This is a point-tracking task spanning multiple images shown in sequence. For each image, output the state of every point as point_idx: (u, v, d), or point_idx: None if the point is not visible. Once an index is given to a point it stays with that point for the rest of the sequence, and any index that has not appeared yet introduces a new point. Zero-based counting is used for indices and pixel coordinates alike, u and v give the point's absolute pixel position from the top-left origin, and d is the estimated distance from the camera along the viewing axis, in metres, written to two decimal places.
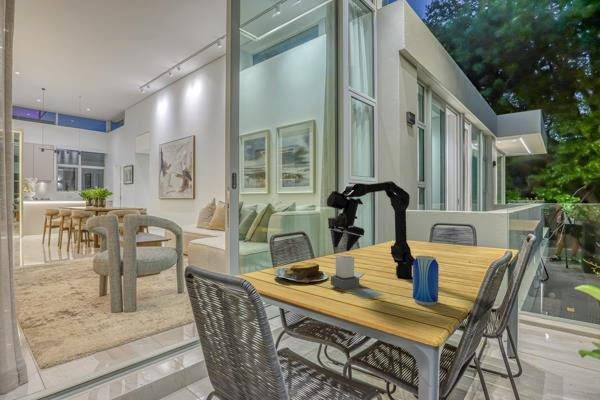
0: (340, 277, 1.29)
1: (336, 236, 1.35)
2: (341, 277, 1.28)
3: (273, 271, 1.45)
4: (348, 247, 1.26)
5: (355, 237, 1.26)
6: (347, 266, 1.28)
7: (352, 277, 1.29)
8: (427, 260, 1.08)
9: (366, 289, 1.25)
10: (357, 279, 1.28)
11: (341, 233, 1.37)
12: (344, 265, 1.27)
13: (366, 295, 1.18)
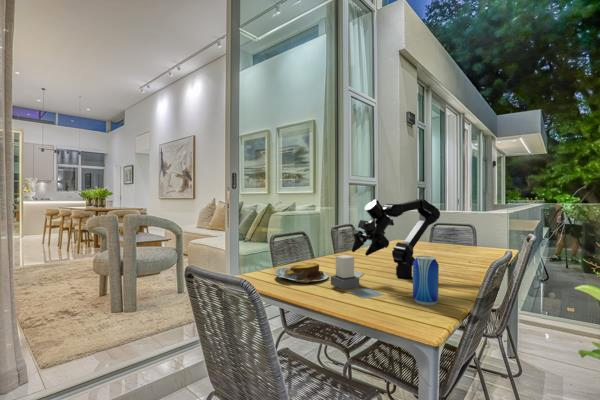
0: (340, 277, 1.29)
1: (357, 242, 1.39)
2: (341, 277, 1.28)
3: (274, 271, 1.45)
4: (368, 252, 1.29)
5: (378, 246, 1.30)
6: (347, 266, 1.28)
7: (352, 277, 1.29)
8: (427, 260, 1.08)
9: (366, 289, 1.25)
10: (357, 279, 1.28)
11: (362, 243, 1.41)
12: (344, 265, 1.27)
13: (366, 295, 1.18)
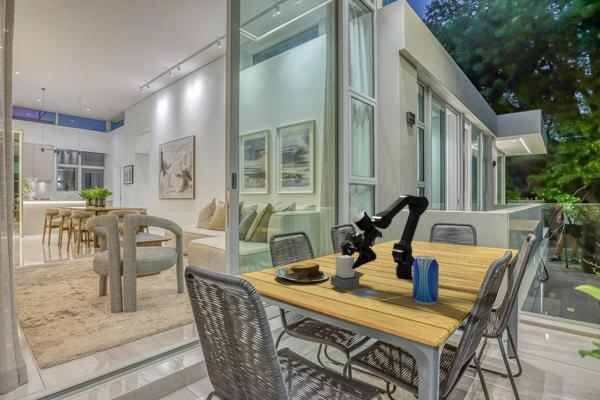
0: (340, 277, 1.29)
1: None
2: (341, 277, 1.28)
3: (274, 271, 1.45)
4: (355, 265, 1.26)
5: (365, 260, 1.27)
6: (347, 266, 1.28)
7: (352, 277, 1.29)
8: (427, 260, 1.08)
9: (366, 289, 1.25)
10: (357, 279, 1.28)
11: (350, 255, 1.38)
12: (344, 265, 1.27)
13: (366, 295, 1.18)
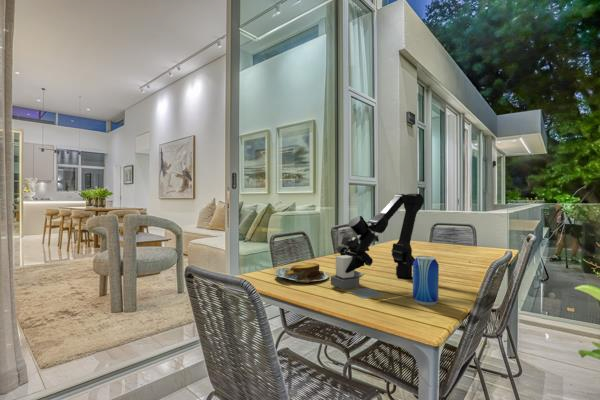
0: (340, 277, 1.29)
1: None
2: (341, 277, 1.28)
3: (274, 271, 1.45)
4: (348, 269, 1.27)
5: (358, 264, 1.28)
6: (347, 266, 1.28)
7: (352, 277, 1.29)
8: (427, 260, 1.08)
9: (366, 289, 1.25)
10: (357, 279, 1.28)
11: None
12: (344, 265, 1.27)
13: (366, 295, 1.18)
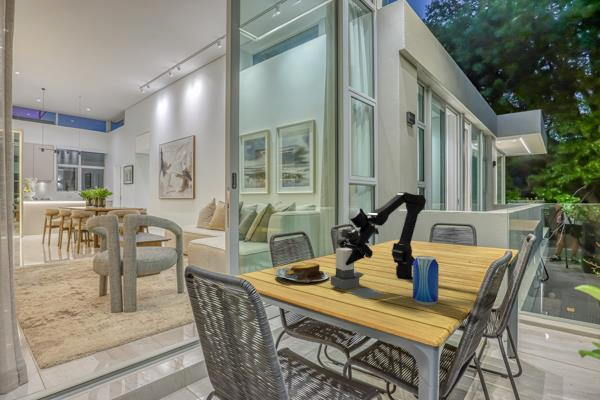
0: (340, 269, 1.29)
1: None
2: (341, 269, 1.28)
3: (274, 271, 1.45)
4: (348, 262, 1.27)
5: (358, 256, 1.28)
6: (347, 258, 1.28)
7: (352, 269, 1.29)
8: (427, 260, 1.08)
9: (366, 289, 1.25)
10: (357, 279, 1.28)
11: None
12: (344, 257, 1.27)
13: (366, 295, 1.18)
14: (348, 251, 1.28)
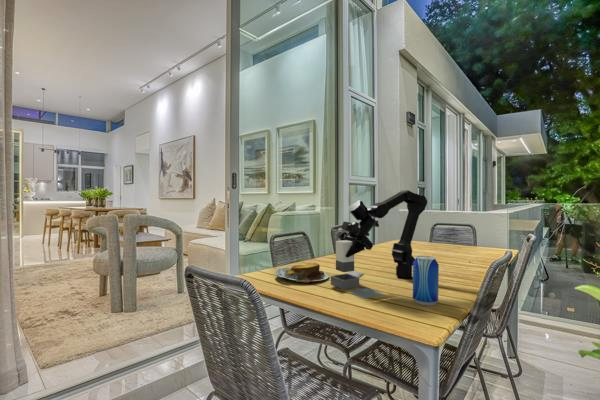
0: (340, 261, 1.29)
1: None
2: (341, 261, 1.28)
3: (274, 271, 1.45)
4: (348, 254, 1.27)
5: (359, 248, 1.28)
6: (348, 250, 1.28)
7: (352, 262, 1.29)
8: (427, 260, 1.08)
9: (366, 289, 1.25)
10: (357, 279, 1.28)
11: None
12: (344, 249, 1.27)
13: (366, 295, 1.18)
14: (348, 243, 1.28)
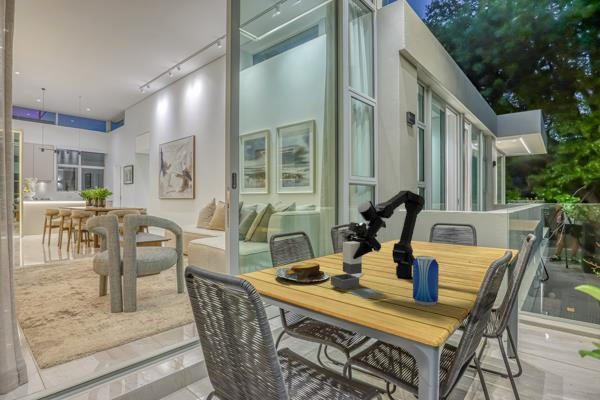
0: (347, 263, 1.25)
1: None
2: (348, 263, 1.24)
3: (274, 271, 1.45)
4: (356, 255, 1.24)
5: (366, 249, 1.24)
6: (355, 252, 1.24)
7: (360, 263, 1.25)
8: (427, 260, 1.08)
9: (366, 289, 1.25)
10: (357, 279, 1.28)
11: None
12: (351, 251, 1.24)
13: (366, 295, 1.18)
14: (356, 244, 1.24)
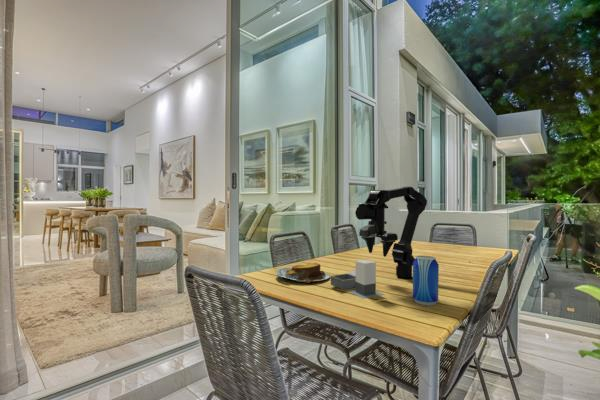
0: (361, 284, 1.19)
1: (369, 242, 1.41)
2: (362, 284, 1.18)
3: (275, 271, 1.45)
4: (385, 253, 1.32)
5: (389, 242, 1.32)
6: (369, 272, 1.18)
7: (374, 284, 1.19)
8: (427, 260, 1.08)
9: None
10: None
11: (373, 238, 1.42)
12: (365, 271, 1.17)
13: (366, 295, 1.18)
14: (369, 264, 1.18)
